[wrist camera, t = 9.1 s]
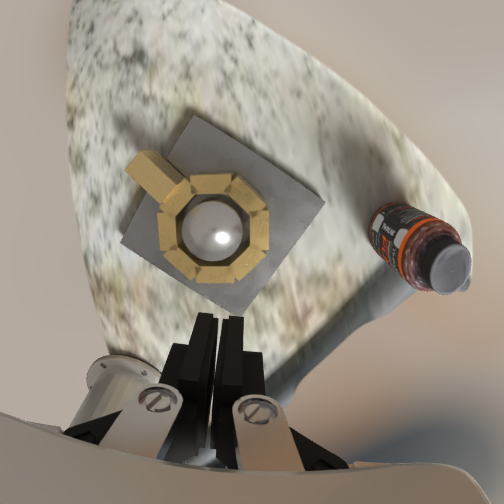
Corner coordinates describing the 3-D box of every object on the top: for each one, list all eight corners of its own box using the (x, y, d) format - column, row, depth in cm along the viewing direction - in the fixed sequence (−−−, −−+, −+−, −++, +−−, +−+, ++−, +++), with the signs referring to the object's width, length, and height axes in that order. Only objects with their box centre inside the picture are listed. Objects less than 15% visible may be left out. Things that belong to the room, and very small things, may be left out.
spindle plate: (240, 310, 33) (237, 338, 28) (114, 230, 30) (91, 245, 25) (322, 199, 29) (335, 209, 24) (184, 108, 27) (169, 100, 22)
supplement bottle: (355, 226, 30) (404, 267, 19) (398, 189, 29) (463, 211, 18) (386, 269, 31) (437, 321, 20) (426, 233, 30) (490, 271, 19)
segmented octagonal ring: (288, 222, 28) (293, 233, 24) (219, 288, 30) (214, 308, 26) (182, 121, 25) (170, 116, 22) (119, 195, 27) (100, 202, 24)
